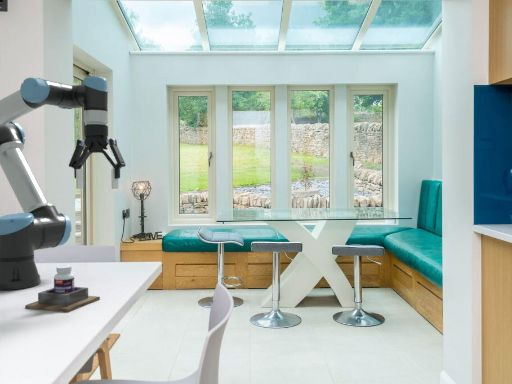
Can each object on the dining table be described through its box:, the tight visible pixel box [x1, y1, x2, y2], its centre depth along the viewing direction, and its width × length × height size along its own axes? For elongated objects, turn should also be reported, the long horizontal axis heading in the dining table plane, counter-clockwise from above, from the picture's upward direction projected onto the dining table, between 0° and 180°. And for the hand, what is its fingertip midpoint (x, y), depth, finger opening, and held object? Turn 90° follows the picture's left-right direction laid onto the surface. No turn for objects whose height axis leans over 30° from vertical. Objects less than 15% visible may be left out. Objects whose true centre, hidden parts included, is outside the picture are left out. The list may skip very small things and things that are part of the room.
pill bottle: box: [53, 264, 75, 294], centre depth 141 cm, size 5×5×10 cm
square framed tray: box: [25, 286, 101, 313], centre depth 141 cm, size 14×14×4 cm
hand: (97, 188), depth 165 cm, fingers open, 13 cm apart
